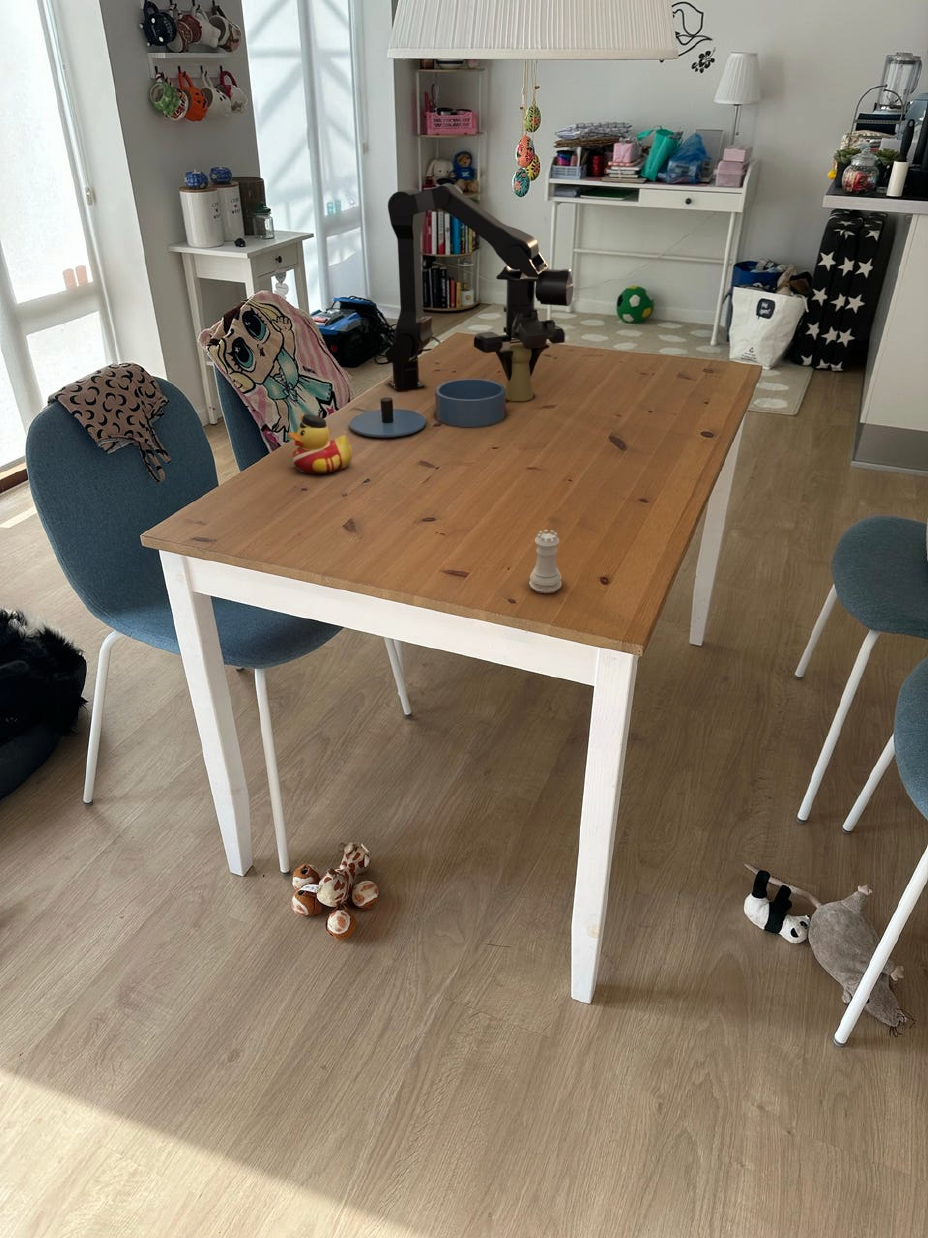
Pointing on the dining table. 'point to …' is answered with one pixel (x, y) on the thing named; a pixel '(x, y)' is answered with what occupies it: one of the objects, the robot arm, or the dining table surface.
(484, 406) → the basin
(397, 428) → the lid
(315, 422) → the toy
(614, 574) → the dining table surface
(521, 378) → the tan pawn
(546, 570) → the rook chess piece
